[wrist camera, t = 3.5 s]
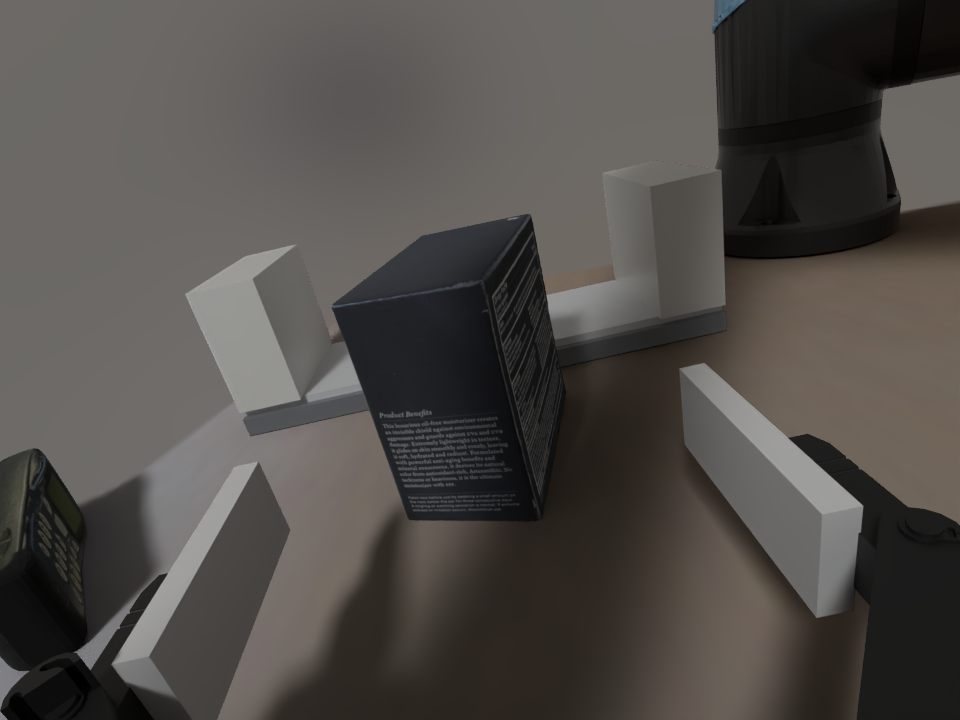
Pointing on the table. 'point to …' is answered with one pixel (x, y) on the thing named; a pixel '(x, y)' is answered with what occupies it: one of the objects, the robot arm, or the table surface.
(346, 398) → the panel
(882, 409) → the table surface
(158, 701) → the robot arm
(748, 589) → the table surface
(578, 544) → the table surface
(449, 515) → the small box
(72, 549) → the mobile phone
